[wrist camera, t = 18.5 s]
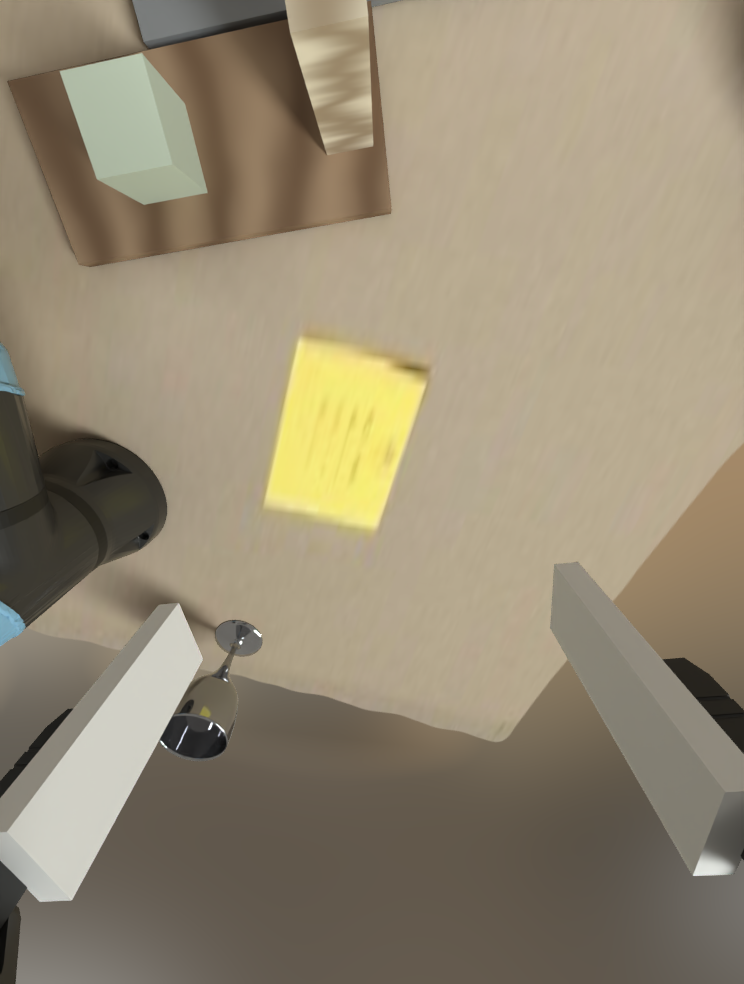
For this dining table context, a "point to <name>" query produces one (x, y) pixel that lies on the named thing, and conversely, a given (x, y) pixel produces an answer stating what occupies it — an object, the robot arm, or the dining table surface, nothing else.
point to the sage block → (135, 129)
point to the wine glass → (211, 700)
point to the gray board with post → (205, 18)
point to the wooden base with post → (235, 137)
